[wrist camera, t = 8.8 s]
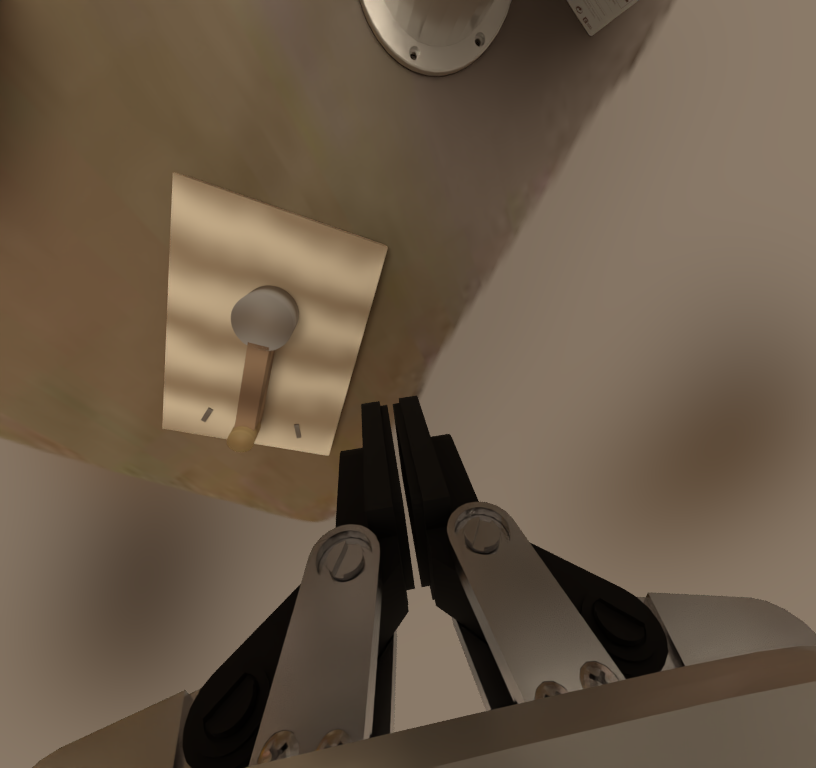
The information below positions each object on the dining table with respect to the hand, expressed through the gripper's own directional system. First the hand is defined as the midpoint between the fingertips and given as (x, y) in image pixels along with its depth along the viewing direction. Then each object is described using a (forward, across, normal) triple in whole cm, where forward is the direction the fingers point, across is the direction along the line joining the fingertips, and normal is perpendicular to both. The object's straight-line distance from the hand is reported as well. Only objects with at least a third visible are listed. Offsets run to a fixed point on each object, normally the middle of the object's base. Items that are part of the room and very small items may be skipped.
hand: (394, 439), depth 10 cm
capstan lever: (+25, +12, +7) cm, 29 cm away
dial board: (+28, +11, +5) cm, 31 cm away
